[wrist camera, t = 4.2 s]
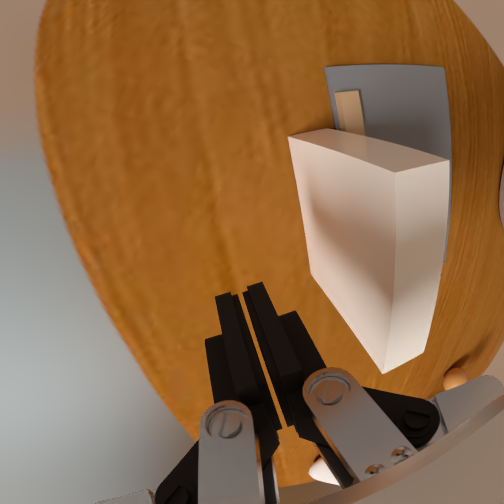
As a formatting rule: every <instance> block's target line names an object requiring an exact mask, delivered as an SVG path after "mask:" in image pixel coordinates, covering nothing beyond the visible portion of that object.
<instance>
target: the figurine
mask: <svg viewBox="0 0 504 504" xmlns="http://www.w3.org/2000/svg"><path fill="white" fill-rule="evenodd" d="M467 381H468V377H467V373H466V372H465V370H463V369H462V368H453V369H451V370H449V371H448V372H447V373H446V375H445V377H444V380H443V386H444V388H445V390H449V389H452V388H454V387H457V386H459V385H462V384H464V383H467Z"/></svg>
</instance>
